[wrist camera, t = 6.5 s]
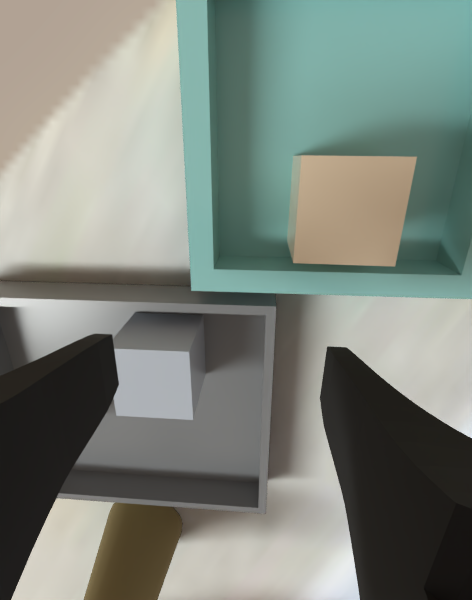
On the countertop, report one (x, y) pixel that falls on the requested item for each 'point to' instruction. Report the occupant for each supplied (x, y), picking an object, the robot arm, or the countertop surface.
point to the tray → (160, 431)
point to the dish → (324, 135)
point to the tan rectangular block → (348, 208)
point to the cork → (134, 552)
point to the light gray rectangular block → (160, 365)
